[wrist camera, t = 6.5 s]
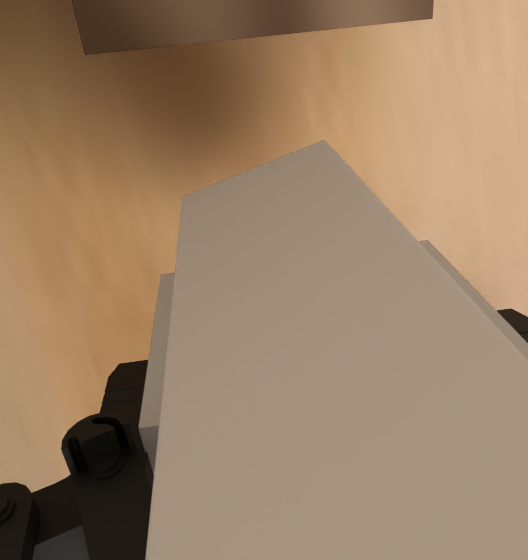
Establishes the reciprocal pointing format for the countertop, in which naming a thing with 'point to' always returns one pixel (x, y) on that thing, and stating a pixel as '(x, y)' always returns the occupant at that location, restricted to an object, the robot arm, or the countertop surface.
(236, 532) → the milk
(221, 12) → the riser
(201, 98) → the countertop surface
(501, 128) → the countertop surface
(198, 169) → the countertop surface
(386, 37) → the countertop surface
